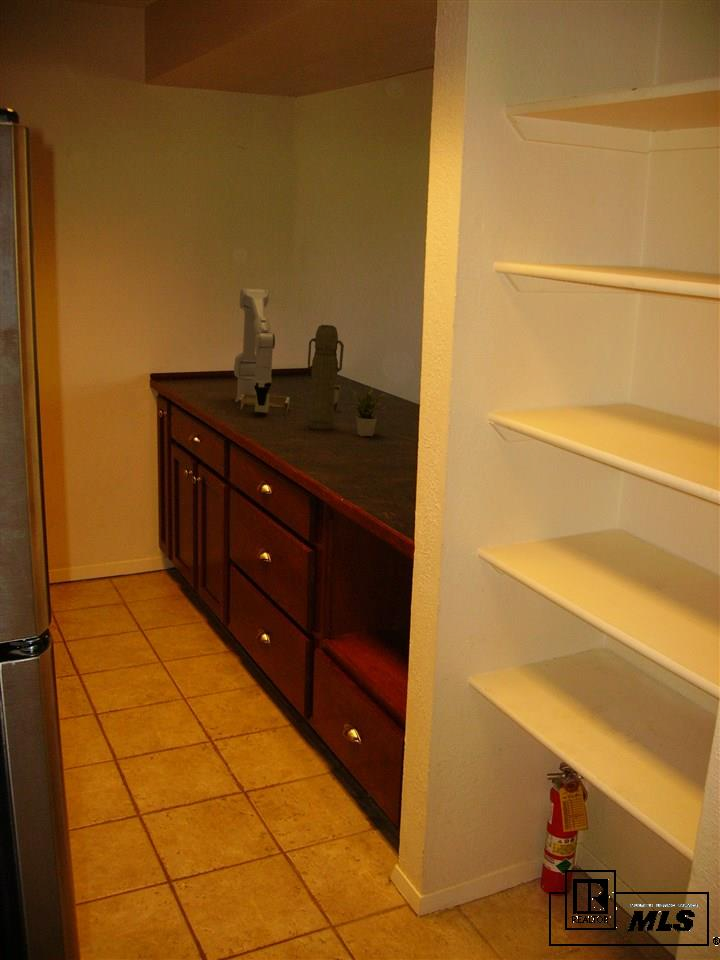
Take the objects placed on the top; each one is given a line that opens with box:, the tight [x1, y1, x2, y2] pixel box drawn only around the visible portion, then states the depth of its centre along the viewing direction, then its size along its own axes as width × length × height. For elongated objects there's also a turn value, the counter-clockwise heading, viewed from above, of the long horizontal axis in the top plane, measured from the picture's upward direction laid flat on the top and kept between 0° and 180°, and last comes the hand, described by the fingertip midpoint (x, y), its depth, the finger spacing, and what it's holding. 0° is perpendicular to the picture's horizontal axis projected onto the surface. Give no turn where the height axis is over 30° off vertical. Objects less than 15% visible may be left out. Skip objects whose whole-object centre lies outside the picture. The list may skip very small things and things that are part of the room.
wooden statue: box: [307, 324, 345, 431], centre depth 326 cm, size 9×12×35 cm
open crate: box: [237, 394, 291, 415], centre depth 355 cm, size 15×18×4 cm
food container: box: [334, 384, 341, 412], centre depth 359 cm, size 12×6×10 cm, turn 145°
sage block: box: [254, 393, 270, 413], centre depth 343 cm, size 4×4×6 cm
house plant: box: [350, 387, 388, 437], centre depth 320 cm, size 14×14×16 cm
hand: (261, 404), depth 344 cm, fingers closed on sage block, 4 cm apart
